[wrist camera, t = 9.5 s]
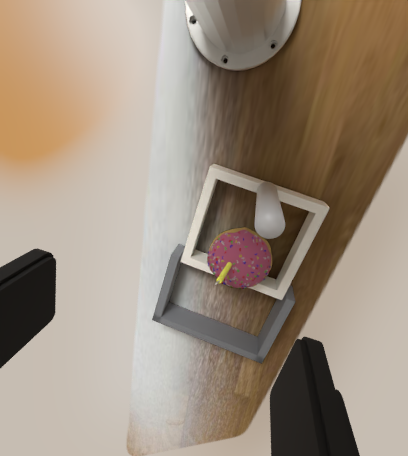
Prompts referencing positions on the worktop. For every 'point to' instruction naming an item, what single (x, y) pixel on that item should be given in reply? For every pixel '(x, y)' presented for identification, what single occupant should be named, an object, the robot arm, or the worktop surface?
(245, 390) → the worktop surface
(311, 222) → the collar
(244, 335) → the holder bay
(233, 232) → the pink frosted cake
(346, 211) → the worktop surface
